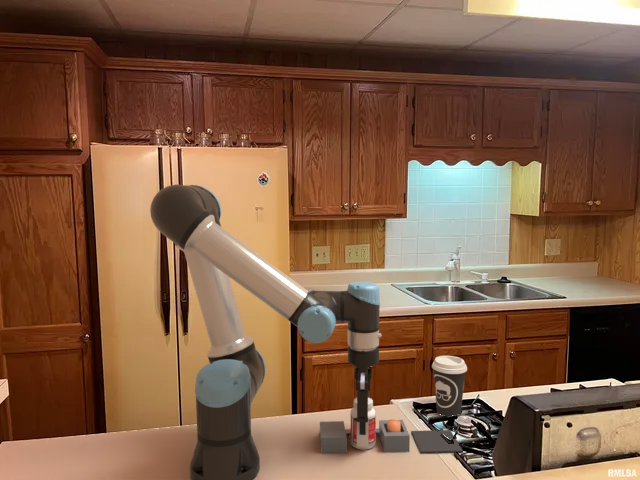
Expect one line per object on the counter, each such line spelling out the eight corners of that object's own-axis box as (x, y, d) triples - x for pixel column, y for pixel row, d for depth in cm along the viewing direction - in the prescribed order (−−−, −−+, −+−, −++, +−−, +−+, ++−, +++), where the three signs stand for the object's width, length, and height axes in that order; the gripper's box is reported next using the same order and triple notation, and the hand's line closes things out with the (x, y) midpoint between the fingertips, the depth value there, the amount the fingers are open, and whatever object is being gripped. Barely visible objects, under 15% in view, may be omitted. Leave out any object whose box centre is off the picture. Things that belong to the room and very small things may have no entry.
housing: (321, 453, 113) (321, 437, 113) (319, 433, 123) (319, 418, 123) (409, 451, 114) (409, 435, 113) (400, 431, 124) (401, 416, 123)
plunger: (388, 445, 116) (388, 425, 116) (386, 438, 119) (386, 419, 119) (401, 445, 116) (401, 425, 116) (398, 438, 119) (399, 419, 119)
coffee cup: (470, 420, 129) (472, 366, 128) (435, 420, 130) (436, 366, 128) (461, 405, 139) (462, 354, 138) (428, 404, 139) (428, 354, 138)
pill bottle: (380, 447, 116) (380, 403, 115) (358, 452, 113) (358, 407, 112) (367, 435, 122) (367, 393, 120) (345, 440, 119) (346, 397, 118)
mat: (420, 453, 113) (420, 451, 113) (411, 432, 123) (411, 430, 123) (462, 452, 113) (462, 450, 113) (450, 431, 123) (450, 430, 123)
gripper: (379, 360, 105) (378, 460, 107) (379, 335, 124) (378, 421, 126) (345, 359, 106) (344, 458, 108) (350, 334, 125) (350, 419, 127)
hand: (363, 438), depth 117 cm, fingers closed on pill bottle, 6 cm apart
